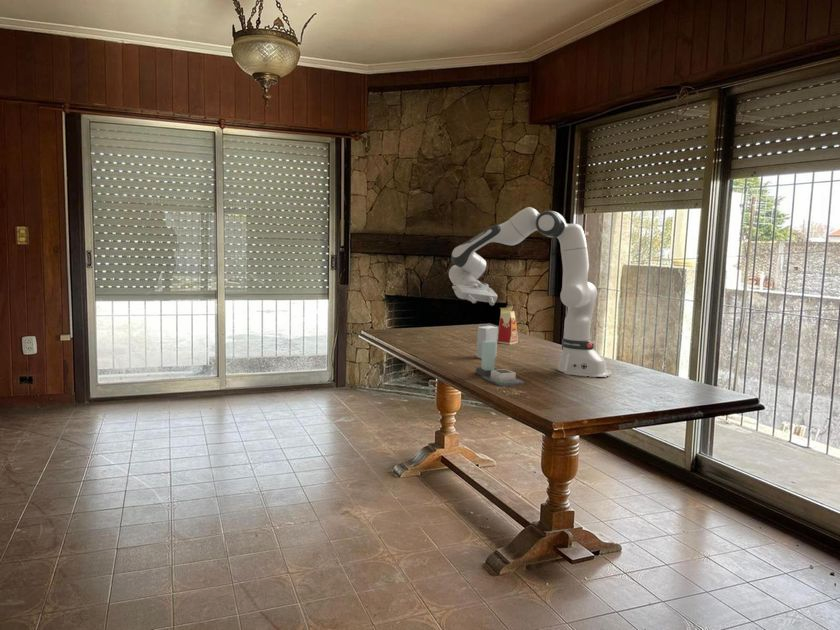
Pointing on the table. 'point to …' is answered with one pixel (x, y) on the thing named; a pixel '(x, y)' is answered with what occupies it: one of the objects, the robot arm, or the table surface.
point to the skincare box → (486, 338)
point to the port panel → (503, 378)
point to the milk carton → (507, 327)
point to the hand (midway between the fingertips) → (484, 302)
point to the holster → (483, 371)
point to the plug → (488, 355)
